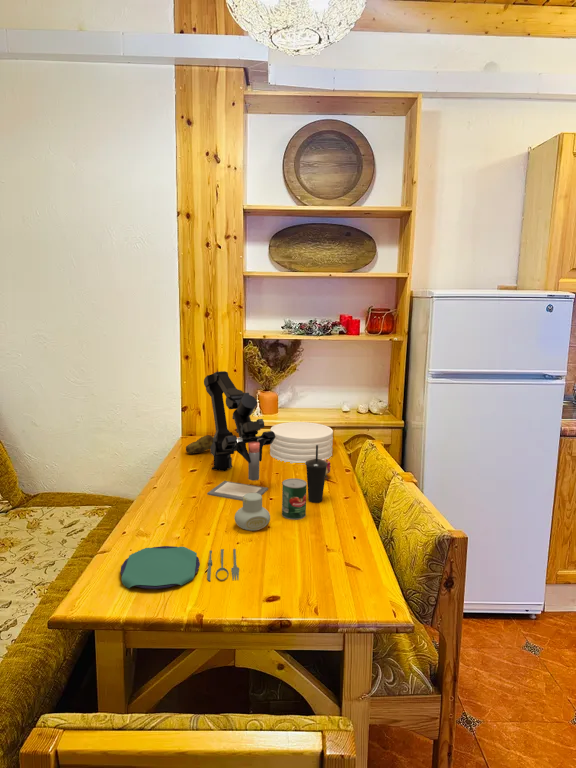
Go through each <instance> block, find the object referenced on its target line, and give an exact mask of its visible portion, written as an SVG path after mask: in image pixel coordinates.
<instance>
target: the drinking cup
mask: <svg viewBox="0 0 576 768" xmlns="http://www.w3.org/2000/svg"><path fill="white" fill-rule="evenodd" d="M327 462H328V461H327ZM327 462H326V461H323V460H321V459H318V445H316V459H311V460H308V461H306V463H305V464H304V465H306V466H305V467H306V480H307V481H306V483H307V499H308V502H310V503H314V504H319V503H322V501H323V496H324V488H325V482H326V478H325V475H326V467H327V465H328V463H327Z"/></svg>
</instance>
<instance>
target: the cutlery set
mask: <svg viewBox="0 0 576 768" xmlns="http://www.w3.org/2000/svg"><path fill="white" fill-rule="evenodd" d="M224 551H225V549H224V548H220V560H221V561H220V563H221V565H220V566H221V567H219V568H218V569H216V572H215V577H216V578H217V579H218V580H219V581H221V579H220V578H219V577H218V573H219V572H220V571H221V572H222V571H224V572H226V573H227V575H226V578H225V577H224V579H223V581H225V580H226V579H227V578H228V577H229V570H228V569H227V568H225V567H224ZM232 551H233V565H232V567H230V568H231V571H230V572H231V577H232V581H239V575H240V573H239V572H240V567H238V565H237V553H236V552H237V551H236V548H233V549H232ZM212 554H213V550H209V559H208V562H207V570H206V571H207V575H206V579H207V581H208V582H209V583H210V582H211V579H212V578H211V575H212V566H213V560H212ZM197 555H198V554H197V552H195V551H193V550H191V549H190V548H188V547H186V546H174V545H172V546H171V545H170V546H169V545H164V546H153V547H145V548H141V549H140V550H138V551H135V552H134V553H131V554H129V555H128V558H126V559H125V560H124V561H123V563H122V565H120V575H121V583H122V584H123V586H124V587H126V588H127V589H130V588H132V587H137V588H140V589H147V590H149V589H150V590H159V589H165V588H166V589H167V588H171V587H174V586H178V585H180V586H183V585H185V584H186V583H189V582H190V581H191V582H192V581H193V579H194V578H195V575H196V574H197V573H198V570H199V568H200V565H201V564H200V559H199V557H198V556H197Z"/></svg>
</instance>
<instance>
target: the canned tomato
mask: <svg viewBox="0 0 576 768" xmlns="http://www.w3.org/2000/svg"><path fill="white" fill-rule="evenodd" d="M281 483H282V488H281V490H282V492H281V493H282V494H281V495H282V498H281V499H282V500H281V515H282V517H284V518H285V519H287V520H293V521H295V520H302V519H304V518H306V516H307V490H308V485H307V481H306V480H303V479H301V478H287V479H284V480H283V481H282V482H281Z"/></svg>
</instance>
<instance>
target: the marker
mask: <svg viewBox="0 0 576 768" xmlns="http://www.w3.org/2000/svg"><path fill="white" fill-rule="evenodd" d="M259 449H260V443H259V442H257V441H251V442H249V443H248V454H249V457H250V460H251V462H250V463H248V462H247V465H248V475H247V476H248V477H247V479H248V480H250V481H258V480H260V461H259Z"/></svg>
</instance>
